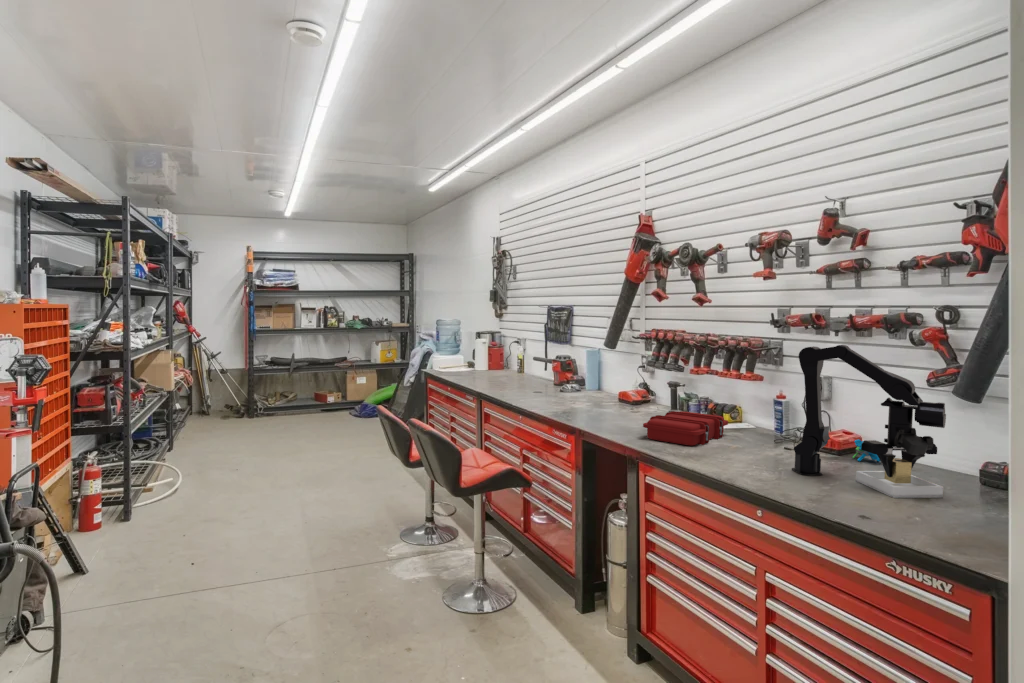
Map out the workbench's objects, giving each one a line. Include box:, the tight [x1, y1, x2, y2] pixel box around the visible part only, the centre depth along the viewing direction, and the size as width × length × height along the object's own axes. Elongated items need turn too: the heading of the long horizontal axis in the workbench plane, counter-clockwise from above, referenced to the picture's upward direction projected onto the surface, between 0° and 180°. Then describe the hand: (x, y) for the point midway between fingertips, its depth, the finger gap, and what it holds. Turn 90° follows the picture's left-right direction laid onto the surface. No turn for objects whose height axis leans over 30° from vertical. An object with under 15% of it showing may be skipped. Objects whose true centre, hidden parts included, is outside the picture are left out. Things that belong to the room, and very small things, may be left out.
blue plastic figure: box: [852, 438, 881, 463], centre depth 198 cm, size 11×6×10 cm
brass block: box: [884, 457, 913, 483], centre depth 166 cm, size 4×4×6 cm
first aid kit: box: [642, 410, 729, 446], centre depth 234 cm, size 32×23×9 cm
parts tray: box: [855, 470, 944, 499], centre depth 166 cm, size 14×16×3 cm
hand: (897, 476), depth 166 cm, fingers closed on brass block, 4 cm apart
